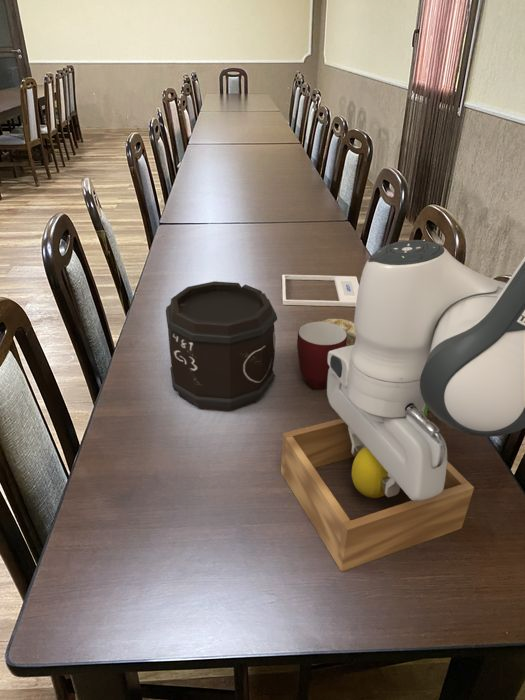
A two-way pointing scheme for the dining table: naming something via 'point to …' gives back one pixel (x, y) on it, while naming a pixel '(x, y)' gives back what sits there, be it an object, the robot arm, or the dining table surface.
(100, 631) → the dining table surface
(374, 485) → the lemon
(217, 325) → the wooden barrel
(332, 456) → the crate
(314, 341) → the mug
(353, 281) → the photo frame
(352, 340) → the cake
